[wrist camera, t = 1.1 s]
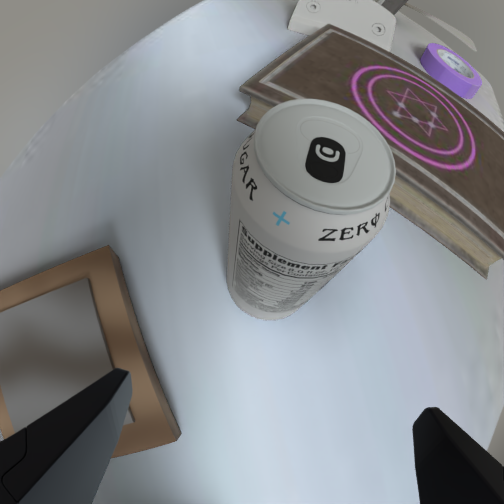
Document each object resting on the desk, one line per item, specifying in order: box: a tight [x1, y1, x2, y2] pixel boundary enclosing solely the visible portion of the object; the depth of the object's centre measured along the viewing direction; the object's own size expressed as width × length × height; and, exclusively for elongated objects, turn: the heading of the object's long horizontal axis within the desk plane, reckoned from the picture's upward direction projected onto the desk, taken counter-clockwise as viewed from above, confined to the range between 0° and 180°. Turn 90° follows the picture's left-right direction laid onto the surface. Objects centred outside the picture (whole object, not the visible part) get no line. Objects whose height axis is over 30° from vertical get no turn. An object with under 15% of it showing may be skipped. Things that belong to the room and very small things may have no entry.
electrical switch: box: [377, 0, 408, 15], centre depth 44 cm, size 9×5×9 cm, turn 144°
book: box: [237, 24, 504, 279], centre depth 29 cm, size 30×22×5 cm
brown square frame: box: [0, 245, 181, 458], centre depth 18 cm, size 14×14×3 cm
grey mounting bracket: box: [288, 0, 396, 52], centre depth 36 cm, size 17×5×10 cm, turn 71°
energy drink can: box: [227, 99, 396, 320], centre depth 16 cm, size 6×6×15 cm
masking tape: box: [420, 43, 482, 99], centre depth 39 cm, size 12×12×4 cm
